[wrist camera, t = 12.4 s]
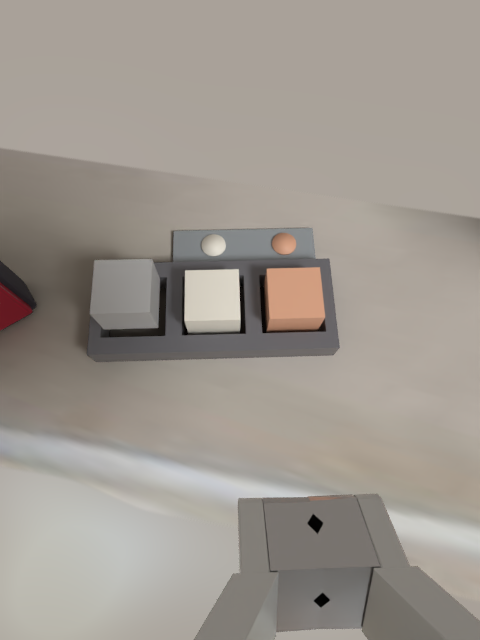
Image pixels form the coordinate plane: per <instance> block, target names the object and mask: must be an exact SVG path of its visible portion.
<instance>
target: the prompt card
mask: <svg viewBox="0 0 480 640" xmlns="http://www.w3.org/2000/svg"><path fill="white" fill-rule="evenodd" d="M291 259H315V249H314V239H313V230H312V228H290V229H243V230H196V231H174V238H173V262H204V261H248V260H291Z"/></svg>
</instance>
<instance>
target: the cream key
mask: <svg viewBox="0 0 480 640" xmlns="http://www.w3.org/2000/svg"><path fill="white" fill-rule="evenodd" d="M240 320H241V319H240V290H239V269H225V270H185V314H184V321H185V324H186V327H187V330H188V333H189V335H211V334H240Z"/></svg>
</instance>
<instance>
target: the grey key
mask: <svg viewBox="0 0 480 640" xmlns="http://www.w3.org/2000/svg"><path fill="white" fill-rule="evenodd" d="M159 293H160V278H159V275H158V273H157V270H156V268H155V265H154V262H153V260H152V259H122V260H94V271H93V282H92V293H91V303H90V315H91V316H92V317H93V318H94V319H95V320H96V321H97V322H98V324H99V325H100V326H101V327H102V328H103V329H139V328H158V322H159Z"/></svg>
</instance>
